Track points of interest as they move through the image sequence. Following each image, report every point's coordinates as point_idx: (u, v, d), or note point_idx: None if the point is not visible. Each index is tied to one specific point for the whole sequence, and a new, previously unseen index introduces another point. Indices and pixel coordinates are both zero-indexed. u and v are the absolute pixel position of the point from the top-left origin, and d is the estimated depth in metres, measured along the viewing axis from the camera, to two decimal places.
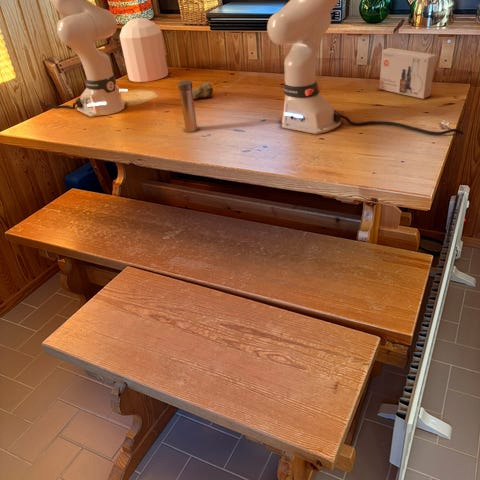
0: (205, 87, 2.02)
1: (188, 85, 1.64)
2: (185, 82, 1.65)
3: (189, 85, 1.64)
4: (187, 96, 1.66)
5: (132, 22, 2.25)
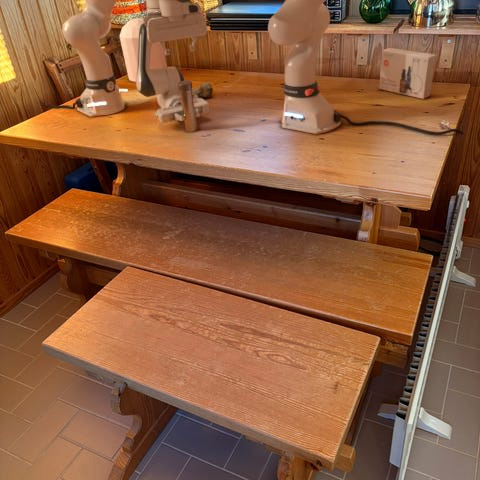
0: (205, 87, 2.02)
1: (188, 85, 1.64)
2: (185, 82, 1.65)
3: (189, 85, 1.64)
4: (187, 96, 1.66)
5: (132, 22, 2.25)
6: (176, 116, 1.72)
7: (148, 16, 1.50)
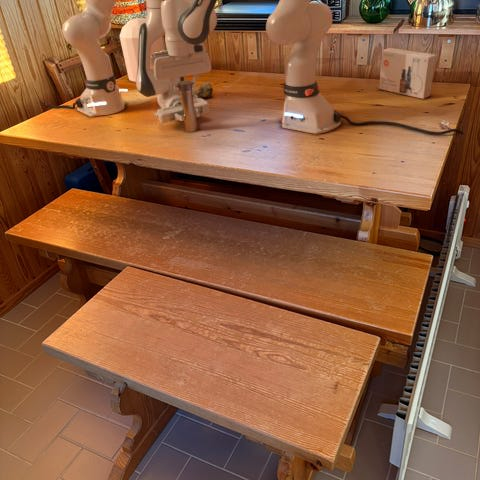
0: (205, 87, 2.02)
1: (188, 86, 1.64)
2: (185, 82, 1.65)
3: (189, 85, 1.64)
4: (187, 96, 1.66)
5: (132, 22, 2.25)
6: (176, 116, 1.72)
7: (155, 55, 1.57)
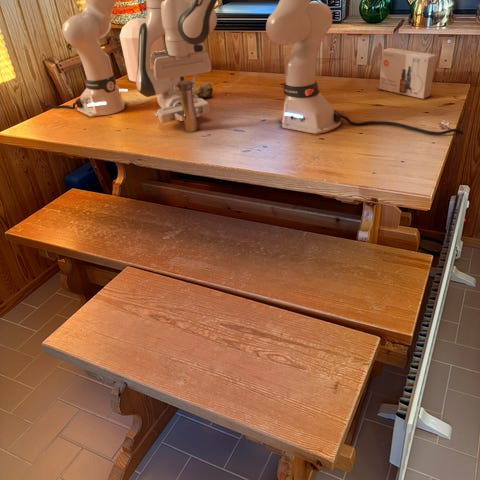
0: (205, 87, 2.02)
1: None
2: (185, 81, 1.65)
3: None
4: (187, 96, 1.66)
5: (132, 22, 2.25)
6: (176, 116, 1.72)
7: (155, 55, 1.57)
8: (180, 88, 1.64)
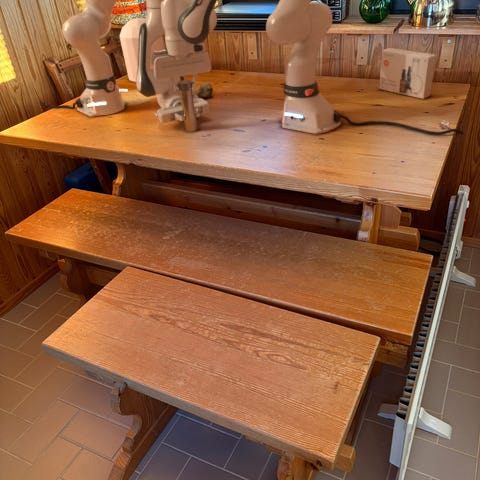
0: (205, 87, 2.02)
1: None
2: (183, 81, 1.65)
3: None
4: (187, 96, 1.66)
5: (132, 22, 2.25)
6: (176, 116, 1.72)
7: (155, 55, 1.57)
8: (188, 87, 1.64)
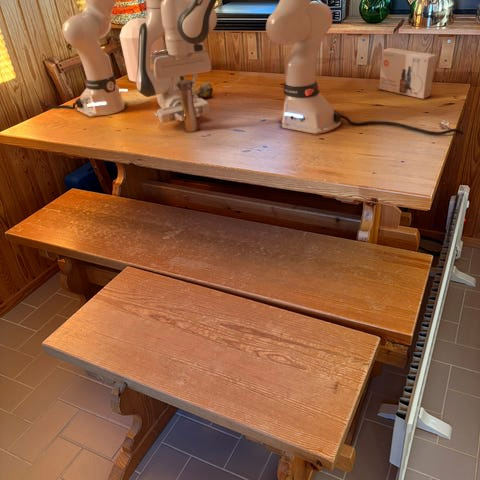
0: (205, 87, 2.02)
1: None
2: (183, 81, 1.65)
3: None
4: (187, 96, 1.66)
5: (132, 22, 2.25)
6: (176, 116, 1.72)
7: (155, 54, 1.57)
8: (191, 84, 1.66)
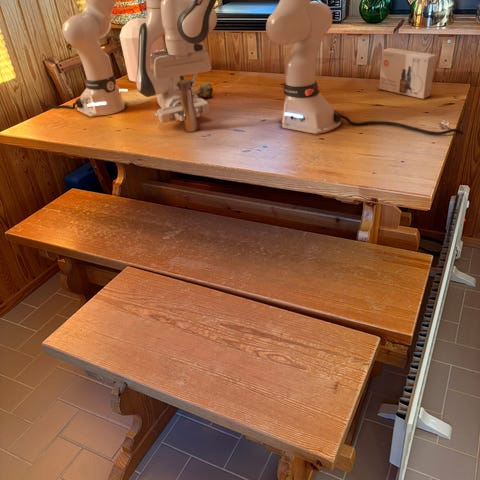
0: (205, 87, 2.02)
1: (179, 85, 1.64)
2: (183, 81, 1.65)
3: (180, 85, 1.64)
4: (187, 96, 1.66)
5: (132, 22, 2.25)
6: (176, 116, 1.72)
7: (155, 54, 1.57)
8: None
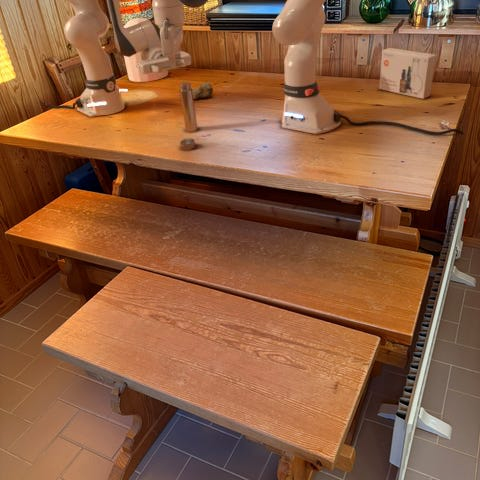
0: (205, 87, 2.02)
1: (190, 145, 1.59)
2: (188, 141, 1.60)
3: (191, 145, 1.59)
4: (187, 96, 1.66)
5: (132, 22, 2.25)
6: (153, 67, 1.73)
7: (166, 25, 1.31)
8: None
